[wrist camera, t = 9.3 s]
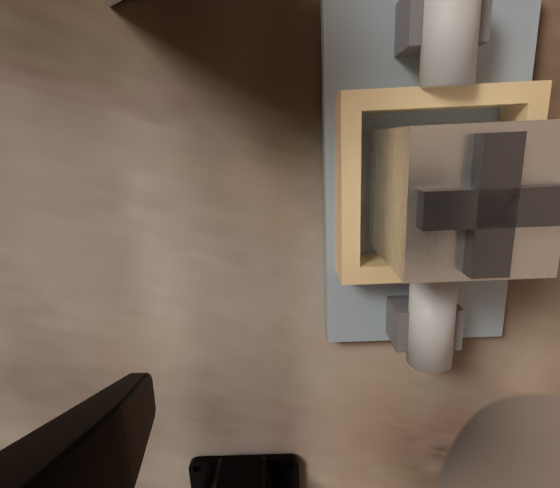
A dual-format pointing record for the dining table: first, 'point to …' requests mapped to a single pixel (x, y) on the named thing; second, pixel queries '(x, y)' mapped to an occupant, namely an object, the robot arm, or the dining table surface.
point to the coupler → (465, 200)
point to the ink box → (110, 2)
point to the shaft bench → (412, 112)
